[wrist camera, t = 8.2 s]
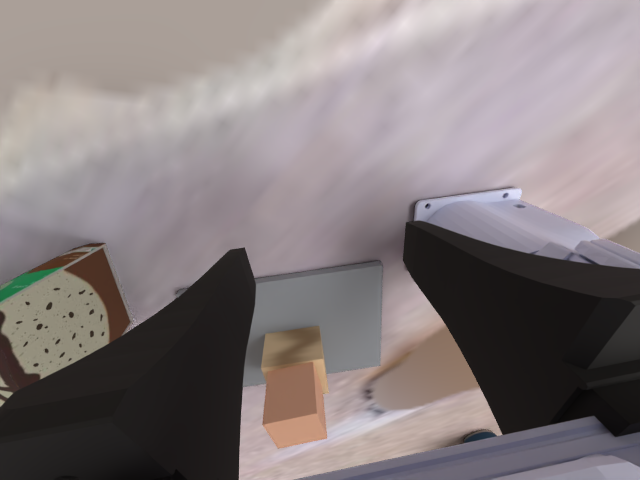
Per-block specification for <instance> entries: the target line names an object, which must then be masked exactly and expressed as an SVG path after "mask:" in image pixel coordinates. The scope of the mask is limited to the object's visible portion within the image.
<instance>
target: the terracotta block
mask: <svg viewBox="0 0 640 480" xmlns="http://www.w3.org/2000/svg"><path fill="white" fill-rule="evenodd" d="M263 426H264V428H265V429H266V431H267V432H268V434H269V435H270V437H271V438H272V440H273V441H274V443H275V444H276V446H277V447H278V449H279V448H283V447H288V446H293V445H298V444H303V443H307V442H312V441H317V440H322V439H326V438H327V431H326V421H325V411H324V401H323V391H322V385H321V383H320V380H319V377H318V374H317V371H316V368H315V366H314V363H313V362H309V363H305V364H300V365H295V366H291V367H286V368H281V369H277V370H272V371H268V375H267V385H266V395H265V405H264V415H263Z"/></svg>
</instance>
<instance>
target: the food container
mask: <svg viewBox="0 0 640 480" xmlns="http://www.w3.org/2000/svg"><path fill="white" fill-rule="evenodd" d="M133 322H134V320H133V318H132V315H131V312H130V309H129V307H128V304H127V301H126V298H125V296H124V293H123V290H122V287H121V285H120V282H119V279H118V276H117V274H116V271H115V268H114V265H113V263H112V260H111V257H110V254H109V252H108V249H107V246H106V243H93V244H88V245H84V246H81V247H77V248H74V249H72V250H70V251H68V252H66V253H64V254H62V255H60V256H58V257H56V258H54V259H52V260H50V261H48V262H46V263H44V264H42V265H40V266H38V267H36V268H34V269H32V270H30V271H28V272H26V273H24V274H22V275H20V276H18V277H16V278H14V279H13V280H11V281H9V282H7V283H5V284H3V285H1V286H0V407H1V406H2V405H3V403H4V402H5V401H6V400H7V399H8V398H9V397H10V396H11V395H12V394H13V393H14V392H15V391H17V390H19V389H22V388H24V387H26V386H28V385H30V384H32V383H34V382H36V381H38V380H40V379H42V378H44V377H46V376H48V375H50V374H52V373H54V372H56V371H58V370H60V369H62V368H64V367H66V366H68V365H70V364H72V363H74V362H76V361H78V360H80V359H82V358H84V357H85V356H87V355H89V354H91V353H93V352H94V351H96V350H98V349H100V348H102V347H103V346H105V345H107V344H109V343H110V342H112V341H114V340H116V339H117V338H119V337H121V336H122V335H124V334H126V332H127V331H128V329H129V328H130V326H131V325H132V323H133Z"/></svg>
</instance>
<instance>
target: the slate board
mask: <svg viewBox="0 0 640 480" xmlns="http://www.w3.org/2000/svg"><path fill="white" fill-rule="evenodd" d="M382 272H383V265H382V263H381V261H375V262H368V263H361V264H354V265H347V266H340V267H333V268H326V269H319V270H312V271H305V272H298V273H291V274H284V275H277V276H270V277H263V278H256V279H255V282H256V298H255V308H254V314H253V319H252V324H251V330H250V335H249V340H248V345H247V350H246V357H245V365H244V377H243V387H247V386H253V385H260V384H266V380H265V378H264V375H263V372H262V370H261V364H262V356H263V348H264V341H265V334H268V333H274V332H281V331H288V330H294V329H301V328H308V327H314V326H319V327H320V333H321V339H322V346H323V352H324V359H325V367H326V374H330V373H337V372H343V371H349V370H356V369H362V368H369V367H375V366H380V355H381V314H382ZM187 289H188V288H187ZM187 289H180V290H179V291H178V293H177V294H176V296H177V298H178V297H179V296H180V295H181V294H183V293H184V292H185V291H186V290H187Z"/></svg>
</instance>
